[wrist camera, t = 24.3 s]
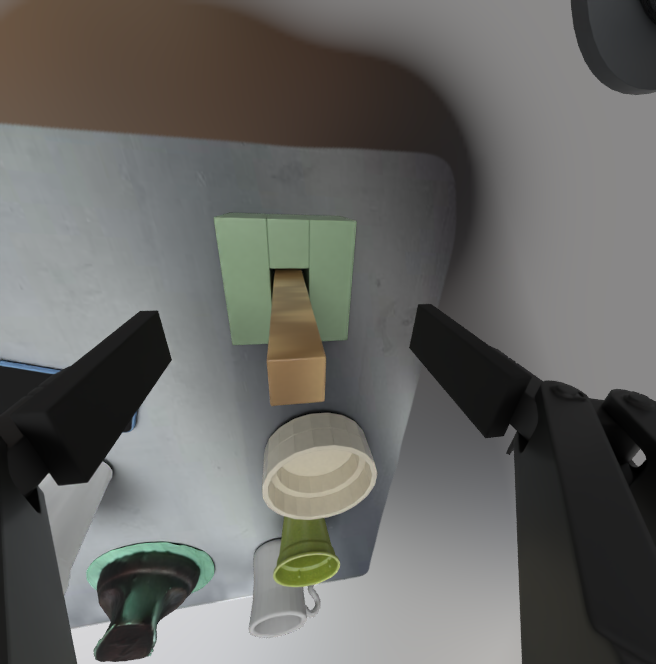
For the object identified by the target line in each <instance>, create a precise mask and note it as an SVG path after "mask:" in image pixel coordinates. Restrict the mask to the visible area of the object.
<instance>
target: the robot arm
mask: <svg viewBox="0 0 656 664" xmlns="http://www.w3.org/2000/svg"><path fill="white" fill-rule="evenodd" d="M640 1H641V4H642V6H643V9H644V11H645V13H646V14H647V16H648V17H649V18H650V20H651V21H652V22H653V23H654V24H656V0H640ZM409 348H410V349H411V350H412V352H413V353H414V354H415V355H416V356H417V358H418V359H419V360H420V361H421V362H422V363H423V365H424V366H425V367H426V368H427V369H428V371H429V372H430V373H431V374H432V375H433V376H434V378H435V379H436V380H437V381H438V382H439V384H440V385H441V386H442V387H443V388H444V390H446V392H447V393H448V394H449V395H450V397H451V398H452V399H453V400H454V401H455V403H456V404H457V405H458V406H459V407H460V408H461V410H462V411H463V412H464V413H465V414H466V416H467V417H468V418H469V419H470V420H471V422H472V423H473V424H474V425H475V426H476V427H477V429H478V430H479V431H480V432H481V433H482V435H483V436H484V437H485V438H491V437H500V436H504V434H505V432H506V430H507V428H508V426H509V424H511V425H512V426H513V427H514V428H515V429H516V430H517V432H516V434H515V436H514V438H513V440H512V442H511V444H510V446H509V448H508V450H507V454H509V455H510V453H511V452H512V451H513V450H514V463H515V490H516V515H517V542H518V568H519V595H520V619H521V620H520V621H521V646H522V664H656V401H653V400H652V399H649V398H648V397H647V396H645V395H642V394H639V393H637V392H631V391H627V390H621V389H614V390H611V391H610V393H609V394H608V396H607V397H606V399H605V400H598V399H591V398H588V396H587V395H586V394H584V393H583V392H582V391H580V390H578V389H576V388H574V387H572V386H570V385H567V384H564V383H562V382H557V381H544V382H543V381H542V380H540V379H539V378H537V377H536V376H535V375H533V374H532V373H530V372H529V371H528V370H526V369H525V368H523V367H522V366H520V365H519V364H517V363H515V361H513V360H512V359H511V358H508V356H506V355H505V354H504V353H502V352H501V351H499V350H498V349H495V348H493V347H491V346H488V345H487V344H486V343H485V342H483V341H482V340H480V339H479V338H478V337H476V336H475V335H474V334H472V333H471V332H469V331H468V330H467V329H465V328H464V327H462V326H461V325H460V324H458V323H457V322H455V321H454V320H453V319H451V318H450V317H448V316H447V315H446V314H444V313H443V312H441V311H440V310H439V309H437V308H436V307H434V306H433V305H432V304H418V308H417V313H416V318H415V323H414V327H413V332H412V337H411V342H410V347H409ZM171 360H172V359H171V355H170V352H169V348H168V345H167V341H166V338H165V334H164V330H163V327H162V323H161V320H160V316H159V313H158V311H139V312H138V313H137V314H136V315H134V316H133V317H132V318H131V319H129V320H128V321H127V322H126V323H124V324H123V325H122V326H121V327H119V328H118V329H117V330H116V331H114V332H113V333H112V334H111V335H109V336H108V337H107V338H106V339H104V340H103V341H102V342H101V343H99V344H98V345H97V346H96V347H94V348H93V349H92V350H91V351H89V352H88V353H87V354H86V355H84V356H83V357H82V358H80V359H79V360H78V361H77V362H75V363H74V364H73V365H72V366H69V367H67V368H65V369H63V370H61V371H59V372H57V373H55V374H53V375H51V376H50V377H49V378H47V379H46V380H45V381H44V382H42V383H41V384H40V385H38V386H39V387H36V388H34V389H33V390H32V391H31V392H29V393H28V394H27V396H24V397H23V398H21V399H20V400H19V401H18V402H16V403H15V404H14V405H12V406H11V407H10V408H8V409H7V410H6V411H5V412H3V413H2V414H1V415H0V664H77V661H76V655H75V650H74V645H73V640H72V635H71V630H70V625H69V619H68V614H67V609H66V604H65V599H64V594H63V589H62V584H61V579H60V573H59V568H58V563H57V558H56V553H55V548H54V543H53V538H52V533H51V528H50V522H49V517H48V512H47V507H46V502H45V497H44V493H43V492H42V490H41V489H40V488H39V486H38V485H39V484H40V483H41V482H42V480H43V479H44V478H45V477H46V476H47V475H48V473H50V475H51V476H52V478H53V479H54V481H55V482H56V484H57V485H58V486H63V485H72V484H81V483H88V482H89V480H90V479H91V477H92V476H93V474H94V473H95V472H96V470H97V469H98V467H99V466H100V464H101V463H102V461H103V460H104V458H105V457H106V455H107V454H108V453H109V451H110V450H111V448H112V447H113V445H114V444H115V442H116V441H117V439H118V438H119V436H120V435H121V433H122V432H123V431H124V429H125V428H126V426H127V425H128V423H129V422H130V420H131V419H132V417H133V416H134V414H135V413H136V412H137V410H138V409H139V407H140V406H141V404H142V403H143V401H144V400H145V398H146V397H147V395H148V394H149V392H150V391H151V390H152V388H153V387H154V385H155V384H156V382H157V381H158V379H159V378H160V376H161V375H162V373H163V372H164V370H165V369H166V368H167V366H168V365H169V363H170V362H171ZM640 449H641V450H642V451H643V452H644V454H645V456H646V460H645V461H644V462H643V464H642V465H641V466H639V467H638V466H637V465H635V463H634V462H633V461H632V458H633V457H634V456H635V454H636V453H637V452H638V451H639V450H640Z"/></svg>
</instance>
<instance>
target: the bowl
mask: <svg viewBox="0 0 656 664" xmlns="http://www.w3.org/2000/svg"><path fill="white" fill-rule="evenodd" d="M376 477H377V470H376V467H375V463H374V460H373V457H372V454H371V452H370V449H369V446H368V443H367V440H366V438H365V435H364V432H363V430H362V429H361V428H360V427H359V426H358V424H357V423H356V422H355V421H353V420H351V419H349V418H347V417H345V416H343V415H338V414H333V413H315V414H308V415H305V416H302V417H298V418H295V419H293V420H291V421H289V422H288V423H286V424H285V425H283V426H281V427H280V428H278V430H277V431H276V432H275V433H274V434H273V435H272V436H271V437H270V438H269V440H268V443H267V445H266V448H265V451H264V466H263V481H262V492H263V499H264V501H265V502H266V504H267V505H268V507H269V508H270V509H271V510H273V511H275V512H276V513H278V514H279V515H282V516H285V517H289V518H293V519H302V520H313V519H320V518H327V517H330V516H334V515H337V514H340V513H342V512H345V511H346V510H348V509H350V508H352V507H354V506H356V505H357V504H358V503H359V502H361V501H362V500H363V499H364V498H365V497H366V496H368V494H369V493H370V491H371V490H372V488H373V487H374V485H375V482H376Z"/></svg>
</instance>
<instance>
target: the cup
mask: <svg viewBox="0 0 656 664" xmlns="http://www.w3.org/2000/svg"><path fill="white" fill-rule="evenodd" d="M111 479H112V470H111V468H110V467H109V465H108V464H106V463H105V462H103V461H102V463H101V464H100V466H99V467H98V469H97V470H96V472H95V473H94V474H93V476H92V477H91V479H90V480H89V482H88V483H81V484H72V485H63V486H58V485H57V484H56V482H55V481H54V479H53V478H52V476H51V475H50V473H48V475H47V476H46V477H45V478H44V479H43V480H42V482H41V483H40V484H39V485H38V486H39V488H40V489H41V490H42V492H43V493H44V497H45V502H46V507H47V512H48V517H49V522H50V528H51V533H52V538H53V543H54V548H55V553H56V558H57V563H58V568H59V573H60V579H61V584H62V589H63V594H64V595H65V593H66V591H67V588H68V586H69V579H70V570H71V568H72V566H73V563H74V561H75V559H76V557H77V554H78V552H79V550H80V547H81V545H82V543H83V541H84V538H85V536H86V534H87V531H88V529H89V527H90V525H91V522H92V520H93V518H94V515H95V513H96V511H97V509H98V506H99V504H100V502H101V499H102V497H103V495H104V493H105V490H106V488H107V486H108V484H109V482H110V480H111Z"/></svg>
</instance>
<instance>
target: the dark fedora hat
mask: <svg viewBox="0 0 656 664" xmlns="http://www.w3.org/2000/svg"><path fill="white" fill-rule="evenodd" d="M213 575H214V565H213V563H212V560H211V558H210V557H209V556H208V555H207V554H206V553H205V552H203V551H200V550H196V549H194V548H192V547H188V546H185V545H181V546H180V545H175V544H171V543H167V542H160V543H144V544H136V545H132V546H127V547H124V548H120V549H116V550H111V551H109V552H108V553H106V554H104V555H102V556H100V557H99V558H97V559H96V560H95V561H93V562H92V563H91V565H90V566H89V568H88V570H87V574H86V576H87V581H88V582H89V583H90V585H91V586H92V587H93V588H94V589H96V590H97V593H98V599H99V604H100V606H101V607H102V609H103V610H104V612H105V613H106V614H107V616H108V617H109V619H110V621H111V623H110V625H109V628H108V629H107V631H106V633H105V635H104V636H103V638H102V639H100V640H99V641H98V644H97V646H96V647H95V648H94V656H95V659H96V660H98V661H101V662H105V661H112V662H118V661H128V660H134V659H141V658H144V657H146V656H151V653H150V652H153V647H154V646H155V643H156V640H157V632H156V628H157V624H158V622H159V621H160V620H161V619H162V618H163V617H165V616H167V615H168V614H169V613H171V612H172V611H174V610H175V609H177V608H178V607H179V606H180V605H181V604H182V603H183V602H184V600H185V599H186V598H187V597H188V596H189V595H190V594H191V593H193V592H196V591H198V590H200V589H201V588H203V587H204V586H205V585H206V584H207V583H208V582H209V581H210V580H211V579H212V577H213Z"/></svg>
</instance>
